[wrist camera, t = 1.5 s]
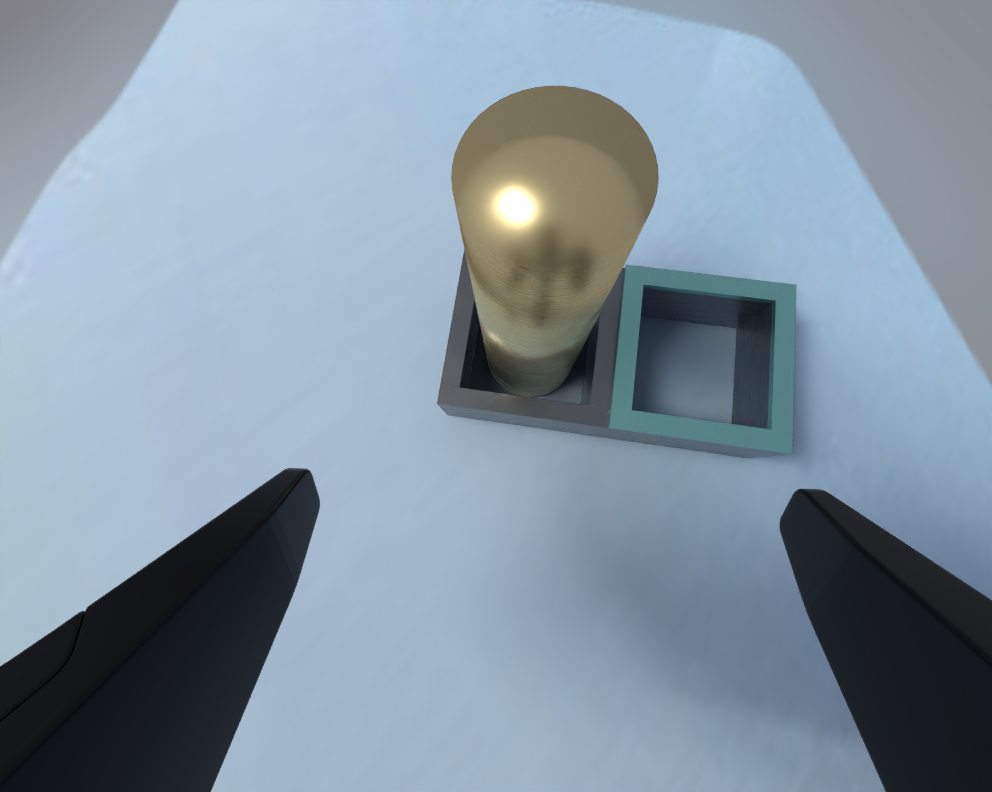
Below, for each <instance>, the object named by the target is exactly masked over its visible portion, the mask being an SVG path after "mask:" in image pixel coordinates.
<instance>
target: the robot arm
mask: <svg viewBox="0 0 992 792" xmlns="http://www.w3.org/2000/svg"><path fill="white" fill-rule="evenodd" d="M319 508H320V499H319V495H318V492H317V489H316V486H315V482H314V479H313V476H312V473H311V472H310V471H309V470H308V469H302V468H288V469H285V470H283V471H282V472H280V473H279V474H277V475H276V476H275V477H273V478H272V479H270V480H269V481H267V482H266V483H265V484H263V485H262V486H260V487H259V488H257V489H256V490H254V491H253V492H252V493H250V494H249V495H247V496H246V497H244V498H243V499H242V500H240V501H239V502H237V503H236V504H234V505H233V506H232V507H230V508H229V509H227V510H226V511H224V512H223V513H222V514H220V515H219V516H217V517H216V518H214V519H213V520H211V521H210V522H209V523H207V524H206V525H204V526H203V527H201V528H200V529H199V530H197V531H196V532H194V533H193V534H191V535H190V536H189V537H187V538H186V539H184V540H183V541H181V542H180V543H179V544H177V545H176V546H174V547H173V548H171V549H170V550H169V551H167V552H166V553H164V554H163V555H161V556H160V557H158V558H157V559H156V560H154V561H153V562H151V563H150V564H148V565H147V566H146V567H144V568H143V569H141V570H140V571H138V572H137V573H136V574H134V575H133V576H131V577H130V578H128V579H127V580H126V581H124V582H123V583H121V584H120V585H118V586H117V587H115V588H114V589H113V590H111V591H110V592H108V593H107V594H105V595H104V596H103V597H101V598H100V599H98V600H97V601H95V602H94V603H92V604H91V605H90V606H88V607H87V609H86V612H85V611H81V612H79V613H78V614H77V615H75V616H74V617H72V618H71V619H69V620H68V621H66V622H65V623H64V624H62V625H61V626H59V627H58V628H56V629H55V630H54V631H52V632H51V633H49V634H48V635H46V636H45V637H43V638H42V639H40V640H39V641H37V642H36V643H34V644H33V645H31V646H30V647H28V648H27V649H26V650H24V651H23V652H21V653H20V654H18V655H17V656H15V657H14V658H12V659H11V660H9V661H8V662H6V663H5V664H3V665H2V666H0V792H211V790H212V788H213V785H214V783H215V780H216V778H217V776H218V773H219V771H220V768H221V766H222V764H223V761H224V759H225V756H226V754H227V752H228V749H229V747H230V745H231V742H232V740H233V737H234V735H235V733H236V730H237V728H238V725H239V723H240V721H241V718H242V716H243V713H244V711H245V709H246V706H247V704H248V701H249V699H250V697H251V694H252V692H253V689H254V687H255V685H256V682H257V680H258V677H259V675H260V673H261V670H262V668H263V666H264V663H265V661H266V658H267V656H268V654H269V651H270V649H271V646H272V644H273V642H274V639H275V637H276V634H277V632H278V630H279V627H280V625H281V622H282V620H283V618H284V615H285V613H286V610H287V608H288V606H289V603H290V601H291V598H292V596H293V593H294V591H295V588H296V586H297V583H298V580H299V576H300V573H301V570H302V567H303V563H304V560H305V557H306V553H307V550H308V546H309V543H310V540H311V536H312V533H313V530H314V526H315V523H316V519H317V516H318V513H319ZM780 532H781V535H782V538H783V542H784V545H785V548H786V551H787V554H788V557H789V560H790V563H791V566H792V569H793V572H794V576H795V579H796V582H797V585H798V588H799V591H800V594H801V597H802V600H803V603H804V606H805V608H806V611H807V614H808V616H809V619H810V621H811V623H812V626H813V628H814V630H815V633H816V635H817V637H818V639H819V642H820V644H821V646H822V648H823V651H824V653H825V655H826V658H827V660H828V662H829V664H830V667H831V669H832V671H833V673H834V676H835V678H836V680H837V682H838V685H839V687H840V689H841V691H842V694H843V696H844V698H845V701H846V703H847V705H848V707H849V710H850V712H851V714H852V716H853V719H854V721H855V723H856V725H857V728H858V730H859V732H860V734H861V737H862V739H863V741H864V744H865V746H866V748H867V750H868V753H869V755H870V757H871V759H872V762H873V764H874V766H875V768H876V771H877V773H878V775H879V777H880V780H881V782H882V784H883V787H884V789H885V791H886V792H992V600H990V599H989V598H987V597H986V596H984V595H983V594H981V593H980V592H978V591H977V590H975V589H974V588H972V587H971V586H969V585H968V584H966V583H965V582H963V581H962V580H960V579H959V578H957V577H955V576H954V575H952V574H951V573H949V572H948V571H946V570H945V569H943V568H942V567H940V566H939V565H937V564H936V563H934V562H933V561H931V560H930V559H928V558H927V557H925V556H924V555H922V554H921V553H919V552H917V551H916V550H914V549H913V548H911V547H910V546H908V545H907V544H905V543H904V542H902V541H901V540H899V539H898V538H896V537H895V536H893V535H892V534H890V533H889V532H887V531H886V530H884V529H883V528H881V527H879V526H878V525H876V524H875V523H873V522H872V521H870V520H869V519H867V518H866V517H864V516H863V515H861V514H860V513H858V512H857V511H855V510H854V509H852V508H851V507H849V506H848V505H846V504H845V503H843V502H841V501H840V500H838V499H837V498H835V497H834V496H832V495H831V494H829V493H828V492H826V491H824V490H820V489H798V490H797V491H795V492H794V494H793V495H792V497H791V499H790V501H789V503H788V505H787V507H786V509H785V511H784V513H783V515H782V516H781V519H780Z"/></svg>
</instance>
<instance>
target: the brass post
mask: <svg viewBox="0 0 992 792" xmlns="http://www.w3.org/2000/svg"><path fill="white" fill-rule="evenodd" d="M451 180H452V191H453V195H454V200H455V205H456V210H457V215H458V220H459V225H460V230H461V234H462V239H463V244H464V249H465V254H466V259H467V264H468V268H469V273H470V278H471V283H472V288H473V293H474V298H475V303H476V307H477V312H478V317H479V322H480V327H481V332H482V337H483V341H484V346H485V351H486V356H487V361H488V365H489V369H490V371H491V373H492V375H493V377H494V378H495V380H496V381H497V382H498V383H499V384H500V385H501V386H502V387H503V388H504V389H506V390H507V391H509V392H511V393H513V394H516V395H519V396H524V397H537V396H542V395H545V394H548V393H550V392H552V391H554V390H555V389H557V388H558V387H559V386H560V385H561V384H562V383H563V382H564V381H565V380H566V378H567V377H568V375H569V373H570V371H571V369H572V367H573V365H574V363H575V361H576V359H577V357H578V355H579V353H580V351H581V349H582V347H583V345H584V343H585V341H586V339H587V337H588V335H589V333H590V332H591V330H592V328H593V326H594V324H595V322H596V320H597V318H598V316H599V314H600V312H601V310H602V308H603V306H604V304H605V302H606V300H607V298H608V296H609V294H610V292H611V290H612V288H613V286H614V284H615V282H616V280H617V278H618V276H619V274H620V272H621V270H622V268H623V266H624V264H625V262H626V260H627V258H628V256H629V254H630V252H631V250H632V248H633V246H634V244H635V242H636V240H637V238H638V236H639V234H640V232H641V230H642V228H643V226H644V224H645V222H646V220H647V218H648V216H649V214H650V211H651V209H652V207H653V205H654V201H655V198H656V194H657V188H658V165H657V160H656V155H655V152H654V149H653V146H652V144H651V142H650V140H649V138H648V136H647V134H646V133H645V131H644V130H643V128H642V127H641V125H640V124H639V123H638V122H637V121H636V120H635V119H634V118H633V116H632V115H631V114H629V113H628V112H627V111H626V110H625V109H623V108H622V107H621V106H619V105H618V104H616V103H615V102H613V101H612V100H610V99H608V98H606V97H604V96H602V95H600V94H597V93H594V92H591V91H588V90H584V89H580V88H575V87H567V86H543V87H535V88H531V89H526V90H522V91H520V92H517V93H514V94H511V95H509V96H507V97H505V98H503V99H501V100H499V101H497V102H496V103H494V104H493V105H491V106H489V107H488V108H487V109H486V110H485V111H483V112H482V113H481V114H480V115H479V116H478V117H477V118H476V119H475V120H474V121H473V122H472V123H471V125H470V126H469V127H468V129H467V130H466V131H465V133H464V135H463V136H462V138H461V140H460V142H459V144H458V147H457V150H456V152H455V155H454V160H453V164H452V176H451Z"/></svg>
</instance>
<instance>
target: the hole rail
mask: <svg viewBox="0 0 992 792" xmlns="http://www.w3.org/2000/svg"><path fill="white" fill-rule="evenodd" d="M641 316H646V317H654V318H662V319H670V320H678V321H685V322H693V323H701V324H709V325H717V326H725V327H733V328H737V335H736V355H735V375H734V394H733V414H732V424H728V423H720V422H713V421H706V420H699V419H692V418H685V417H677V416H670V415H663V414H656V413H649V412H642V411H634V410H632V402H633V391H634V381H635V370H636V359H637V349H638V338H639V327H640V317H641ZM795 321H796V285H793V284H785V283H776V282H768V281H760V280H751V279H743V278H734V277H726V276H717V275H709V274H701V273H692V272H684V271H675V270H667V269H658V268H650V267H642V266H633V265H626V266H625V268H622V270H621V272H620V274H619V276H618V278H617V280H616V282H615V284H614V286H613V288H612V290H611V292H610V294H609V296H608V298H607V300H606V302H605V304H604V306H603V308H602V310H601V312H600V314H599V316H598V318H597V320H596V322H595V324H594V326H593V328H592V330H591V332H590V333H589V339H588V347H587V356H586V364H585V373H584V382H583V390H582V399H581V404H574V403H566V402H559V401H552V400H545V399H538V398H531V397H523V396H516V395H509V394H502V393H495V392H488V391H480V390H473V389H469V384H470V378H471V372H472V366H473V360H474V353H475V347H476V341H477V335H478V329H479V323H480V322H479V317H478V312H477V307H476V303H475V298H474V293H473V288H472V283H471V278H470V273H469V268H468V264H467V259H466V254H465V249H464V255H463V260H462V266H461V272H460V277H459V283H458V289H457V294H456V300H455V305H454V311H453V317H452V322H451V328H450V334H449V339H448V345H447V350H446V356H445V362H444V367H443V373H442V379H441V384H440V390H439V396H438V401H437V404H438V405H439V406H440V407H441V408H442V410H443V411H444V412H445V413H446V414H447V415H452V416H458V417H465V418H472V419H479V420H486V421H493V422H500V423H507V424H514V425H521V426H528V427H535V428H542V429H549V430H556V431H563V432H570V433H577V434H584V435H591V436H597V437H604V438H611V439H618V440H625V441H632V442H639V443H646V444H653V445H660V446H667V447H674V448H681V449H688V450H695V451H702V452H709V453H716V454H723V455H730V456H737V457H743V458H754V457H763V456H771V455H780V454H789V453H792V441H793V401H794V361H795Z"/></svg>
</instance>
